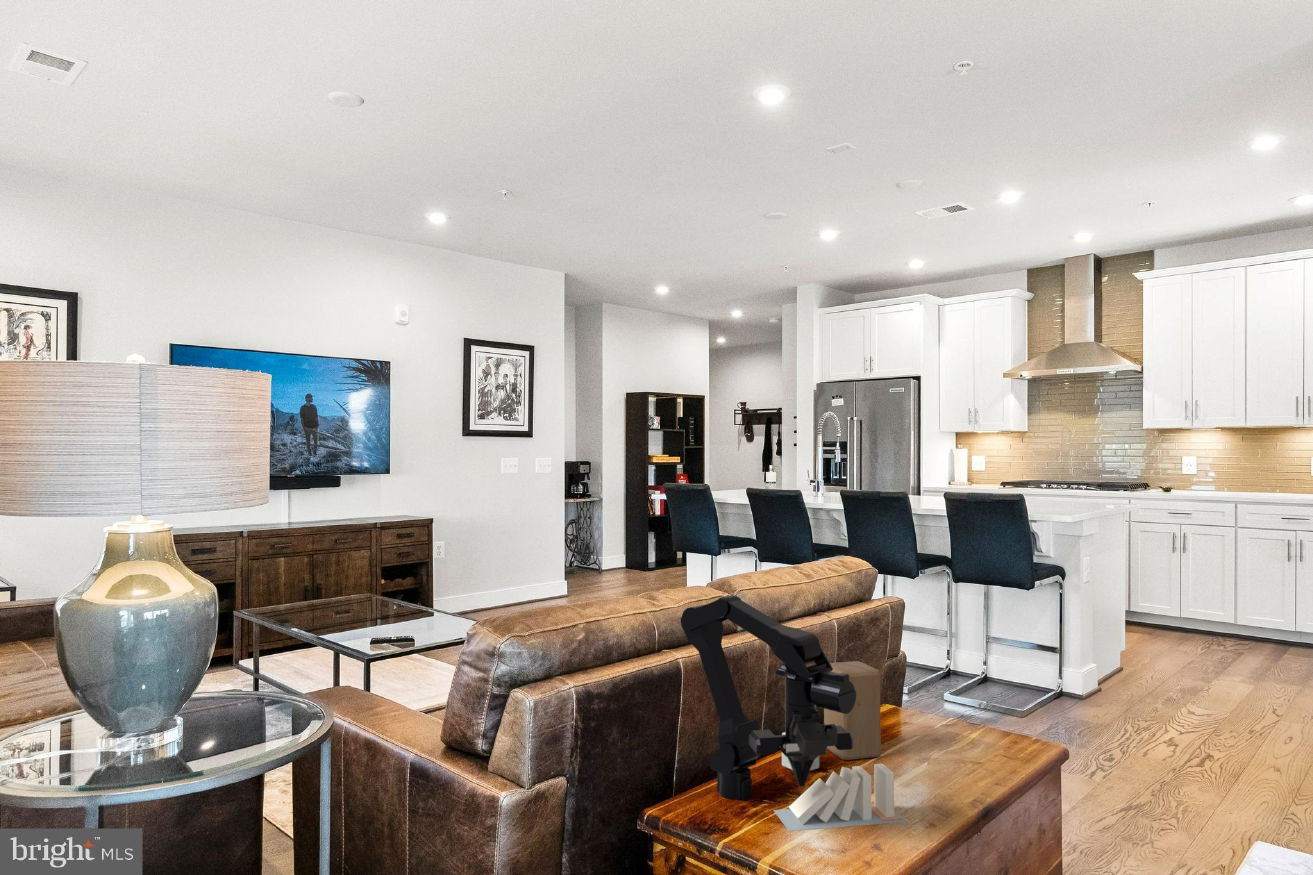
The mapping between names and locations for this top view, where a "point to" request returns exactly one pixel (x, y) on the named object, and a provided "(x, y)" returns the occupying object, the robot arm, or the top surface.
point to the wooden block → (859, 712)
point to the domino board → (835, 820)
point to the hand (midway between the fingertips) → (800, 786)
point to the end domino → (884, 790)
